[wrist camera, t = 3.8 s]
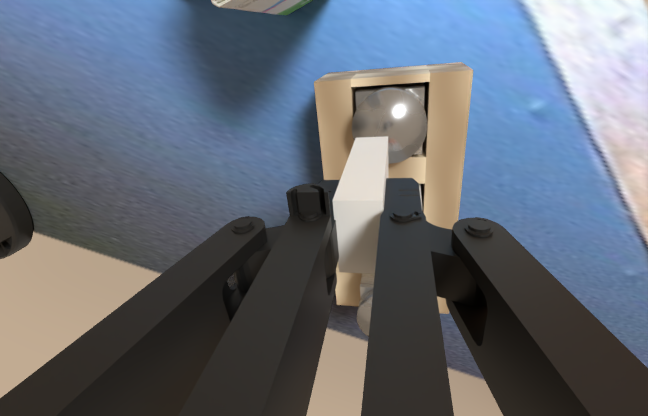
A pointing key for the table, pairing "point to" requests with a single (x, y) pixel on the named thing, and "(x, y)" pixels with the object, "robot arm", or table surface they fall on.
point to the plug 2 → (392, 117)
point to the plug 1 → (365, 302)
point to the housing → (427, 168)
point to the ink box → (263, 5)
